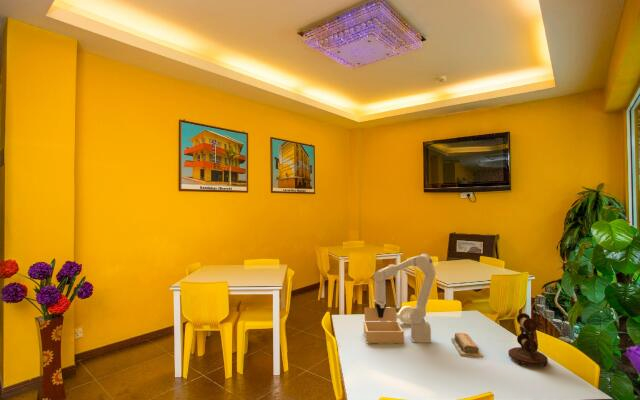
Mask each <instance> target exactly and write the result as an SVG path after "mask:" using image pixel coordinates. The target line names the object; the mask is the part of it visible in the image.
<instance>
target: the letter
mask: <svg viewBox="0 0 640 400" xmlns="http://www.w3.org/2000/svg"><path fill="white" fill-rule="evenodd" d="M386 308H392V307H390V306H388V307H387V306H386ZM413 311H414V308H413V307H412V306H410V305H404V306H402V307H401V308H400V309H399V310H398V312H397V311H396V321H380V322H398V319H399V321H400V322H401V323H403V324H404V325H411V319H410V314H411V313H412V312H413Z"/></svg>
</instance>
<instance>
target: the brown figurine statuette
mask: <svg viewBox="0 0 640 400" xmlns="http://www.w3.org/2000/svg"><path fill="white" fill-rule="evenodd" d="M516 322H517V323H518V324H519V325H520V326H519V330H520V332H521V333H520V334H518V335H517V337H516V341H517V343H518V344H519V345H520V347H519V346H518V347H517V346H516V347H512V348H509V349H508V356H509V357H510V359H513V360H514V361H516V362H518V364H519V366H522V364H525V365H530V366H543V365H544V366H545V367H546V366H547V364H548V361H549V360H548V357H547V356H546V355H545V354H544V353H542V352H541V351H538V348H539V343H538V342H539V341H538V333H537V328H538V322H537V321H536V319H534V318H531V317H530V315H529V314H527V313H525V312H524V313H523V312H521V313H519V314H518V315H517V316H516ZM544 366H543V367H544Z"/></svg>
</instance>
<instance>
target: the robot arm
mask: <svg viewBox="0 0 640 400" xmlns="http://www.w3.org/2000/svg"><path fill="white" fill-rule="evenodd" d="M409 267H417V268H418V269H419V270H420V271H422V273H423V275H424V278H423V280H422V284H421V287H420V291H419V293H418V296H417V301H416V303H415V306H414V308H413V309H414V311H413V312H412V313H411V314H410V319H411V324H410V334H411V335H410V334H409V336H408V337H409V339H410V340H411V342H412V343H432V331H431V324H430V322H428V321H426V320H425V317H426V315H427V314H426V309H427V304H428V300H429V297H430V294H431V290H432V287H433V284H434V281H435V278H436V274H437V273H436V269H435V266H434V263H433V259H432V258H431V256H430V255H429V254H427V253H421V254H420V255H416V256H412V257H410V258H408V259H406V260H404V261H402V262H400V263H397V264H394V263H392V264H390V263H389V264H387V266H386V267H384V268H383V267H382V268H379V269H378V270H377V271H375V272H374V273H373V280H374V299H372V302H373V303H375V304H374V305H375V308H377V311H378V316H379V318H383V314H384V310H385V308H386V307H387V304H386V303H387V300H386V299H387V298H386V296H387V295H386V279H390V278H391V277H394V276H397V275H398V272H399V271H402V270H403V269H406V268H409Z"/></svg>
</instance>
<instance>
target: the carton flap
mask: <svg viewBox="0 0 640 400" xmlns="http://www.w3.org/2000/svg"><path fill="white" fill-rule="evenodd" d="M396 312H397V309H396V307H391V308H385V310H384V314H383V318H379V316H378V311H377V308H376V307H364V322H381V321H396V319H397V318H396ZM396 322H397V321H396Z"/></svg>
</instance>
